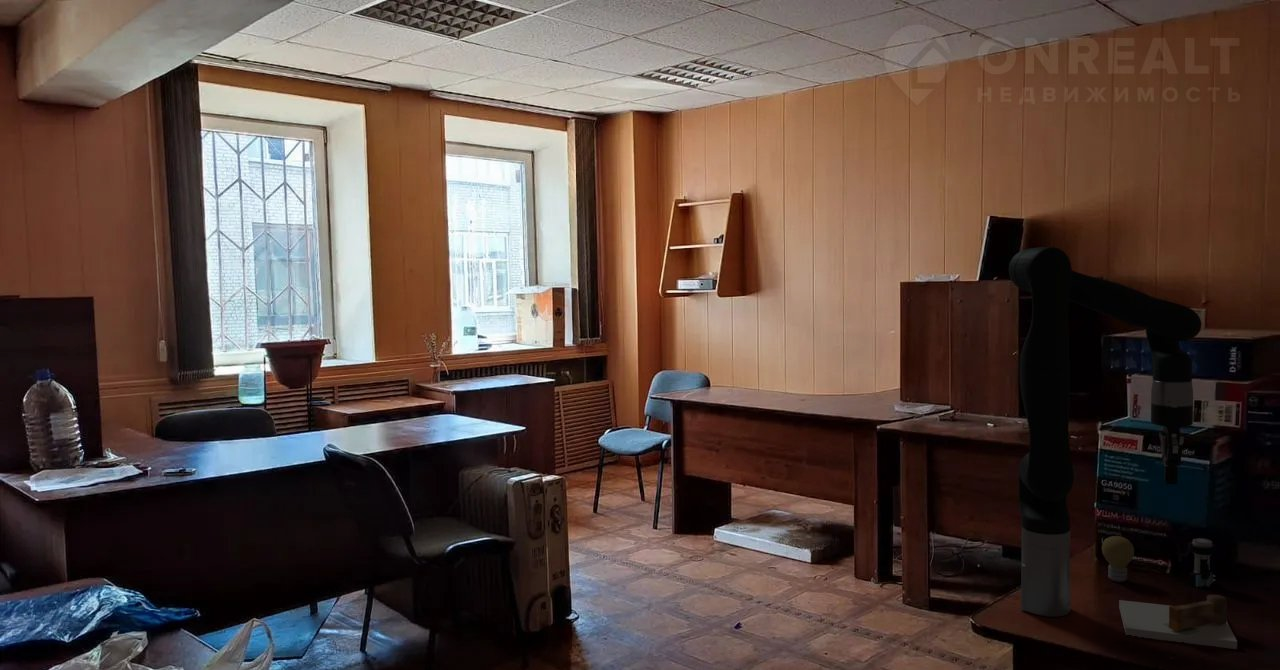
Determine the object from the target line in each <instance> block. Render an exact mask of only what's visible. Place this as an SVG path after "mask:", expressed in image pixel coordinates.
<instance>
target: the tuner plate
mask: <svg viewBox="0 0 1280 670" xmlns="http://www.w3.org/2000/svg"><path fill="white" fill-rule="evenodd" d="M1118 603H1119V604H1118V608H1119V612H1120V616H1121V620H1122V621H1121V622H1122V624H1123V628H1124V629H1125V630H1124V633H1126V634H1125V636H1126V635H1132V636H1131V637H1134V636H1137V638H1142V637H1144V638H1143V639H1150V638H1151V639H1152V640H1159V641H1166V640H1167V642H1168V641H1169V642H1174V641H1175V643H1182V642H1184V644H1191V645H1198V646H1208V647H1214V646H1215V648H1224V649H1230V650H1231V649H1232V650H1237V649H1238V640H1237V638H1236V636H1235V634H1234V633H1233V630H1232V629H1231V627H1230V624H1229V623H1228V621H1227V620H1226V623H1225V624H1215V623H1213V624H1208V625H1203V626H1198V627H1192V628H1187V629H1182V631H1175V630H1173V629H1170V628H1169V606H1170V605H1168V604H1167V605H1166V604H1160V603H1159V604H1158V603H1149V602H1142V601H1131V600H1123V599H1119V600H1118Z"/></svg>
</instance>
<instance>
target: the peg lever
mask: <svg viewBox="0 0 1280 670" xmlns="http://www.w3.org/2000/svg"><path fill="white" fill-rule="evenodd" d="M1227 601H1228V600H1227V598H1226V597H1225V596H1223V595H1219V594H1207V595H1206V600H1202V601H1198V602H1192V603H1188V604H1180V605H1169V628H1170V629H1173V630H1175V631H1182V629H1187V628H1192V627H1198V626H1203V625H1208V624H1213V623H1215V624H1225V623H1226V621H1227V609H1228V608H1227V607H1228V604H1227V603H1228V602H1227Z"/></svg>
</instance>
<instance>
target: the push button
mask: <svg viewBox="0 0 1280 670" xmlns="http://www.w3.org/2000/svg"><path fill="white" fill-rule="evenodd" d="M1187 546H1188V550H1189V552H1191V553H1192V554H1194V567H1193V571H1192V572H1189V573H1188V584H1189V585H1191V586H1192V585H1193V587H1195V586H1196V588H1198V586H1199V587H1200V588H1202V587H1201V586H1204V587H1207V586H1208V587H1211V585H1210V584H1212V583H1213V584H1214V582H1215V581H1216V579H1214V578H1215V577H1216V575H1214V573H1213V572H1211V569H1210V566H1211V565H1210V564H1211V563H1210V562H1211V560H1210V559H1211V556H1213V555H1215V554H1216V551H1217V548H1218V546H1217V545H1215V544H1214V543H1213V541H1212V540H1210V539H1207V538H1204V537H1203V538H1201V537H1197V538H1192V541H1189V542H1188V543H1187ZM1213 584H1212V585H1213ZM1205 585H1206V586H1205Z"/></svg>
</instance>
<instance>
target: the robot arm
mask: <svg viewBox="0 0 1280 670" xmlns="http://www.w3.org/2000/svg"><path fill="white" fill-rule="evenodd" d="M1008 275H1009V276H1008V277H1009V278H1010V280H1011V282H1012V284H1014V286H1016V287H1017V288H1018V289H1020V290H1021V291H1024V292H1027V293H1030V294H1031V307H1032V311H1031V312H1032V313H1031V321H1030V322H1031V323H1030V326H1029V329H1028V332H1027V334H1026V338H1025V340H1024V343H1023V345H1022V348H1021V352H1020V356H1019V357H1020V358H1019V384H1020V385H1019V386H1020V392H1021V393H1020V394H1021V398H1022V403H1023V408H1024V412H1025V418H1026V422H1027V426H1028V433H1029V434H1028V435H1029V448H1028V453H1026V454H1025V455H1024V456H1023V458H1022V459H1021V460H1020V463H1019V466H1018V467H1019V468H1018V501H1019V502H1018V504H1019V513H1020V519H1021V520H1020V521H1021V523H1020V525H1021V560H1020V561H1021V563H1020V564H1021V565H1020V574H1021V575H1020V580H1021V581H1020V582H1021V583H1020V586H1021V587H1020V589H1021V591H1020V594H1021V596H1020V599H1021V600H1020V607H1021V608H1020V610H1021V611H1023V612H1028V613H1030V614H1033V615H1037V616H1041V617H1052V618H1053V617H1054V618H1057V617H1064V616H1067V615H1068V614H1070V612H1071V517H1070V514H1069V510H1068V509H1069V508H1068V501H1067V496H1068V494H1069V493H1070V492H1071V490H1072V489H1073V487H1074V481H1075V474H1074V468H1073V460H1072V459H1073V458H1072V453H1071V446H1070V445H1071V444H1070V437H1069V436H1070V435H1069V434H1070V433H1069V423H1070V400H1071V399H1070V398H1071V397H1070V394H1071V393H1070V392H1071V391H1070V390H1071V389H1070V388H1071V386H1070V385H1071V378H1070V377H1071V375H1070V373H1071V372H1070V371H1071V369H1070V366H1071V365H1070V353H1069V351H1070V349H1069V348H1070V345H1069V344H1070V343H1069V340H1070V339H1069V337H1070V333H1069V332H1070V331H1069V330H1070V328H1069V314H1070V313H1069V312H1070V302H1071V303H1074V304H1077V305H1079V306H1082V307H1085V308H1086V309H1089V310H1091V311H1095V312H1097V313H1099V314H1102V315H1104V316H1107V317H1108V318H1111V319H1114V320H1116V321H1119V322H1121V323H1124V324H1127V325H1129V326H1132V327H1138V328H1145V336H1146V340H1147V343H1148V347H1149V351H1150V354H1151V358H1152V383H1151V390H1150V392H1151V393H1150V403H1151V404H1150V422H1151V424H1153V425H1156V426H1159V427H1162V431H1159V440H1160V452H1161V454H1162V455H1161V459H1162V463H1163V465H1164V472H1163V473H1164V483H1165V484H1166V485H1177V484H1178V481H1179V480H1178V471H1179V470H1178V468H1179V467H1180V466H1181V463H1182V461H1181V460H1182V456H1183V450H1184V446H1183V444H1184V441H1185V440H1184V438H1185V437H1184V434H1182V432H1181V428H1183V427H1184V428H1185V427H1186V428H1187V427H1190V426H1192V425H1193V423H1194V388H1193V387H1194V386H1193V359H1192V356H1191V355H1190V353H1189V354H1188V353H1187V352H1185V351H1183V350H1182V348H1181V345H1180V342H1186V341H1190V340H1192V339H1193V338H1195V337H1197V336H1198V335H1199V333H1200V332H1201V329H1202V320H1201V318H1200V316H1199V314H1198V313H1197V312H1196V311H1195V310H1194V309H1192V308H1190V307H1188V306H1185V305H1182V304H1180V303H1177V302H1173V301H1169V300H1166V299H1161V298H1157V297H1154V296H1151V295H1149V294H1147V293H1144V291H1140V290H1138V289H1135V288H1133V287H1130V286H1127V285H1125V284H1122V283H1119V282H1114V281H1111V280H1106V279H1104V278H1099V277H1096V276H1092V275H1087V274H1083V273H1082V272H1081V273H1080V272H1078V271H1075V270H1072V263H1071V260H1070V258H1069V256H1068V255H1067V253H1066V252H1065V251H1064V250H1063V249H1061V248H1058V247H1056V246H1041V247H1039V246H1038V247H1030V248H1025V249H1023V250H1021V251H1019V252H1017V253H1016V254H1015V255H1014V256H1013V257H1012V258H1011V260H1010V262H1009V265H1008Z"/></svg>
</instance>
